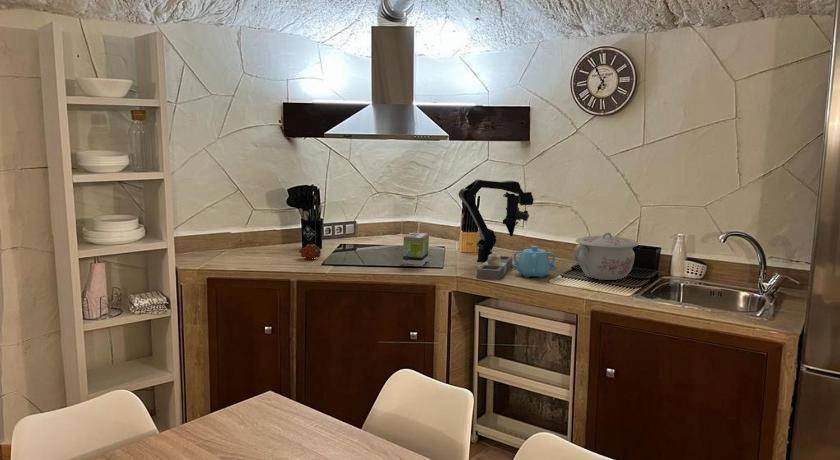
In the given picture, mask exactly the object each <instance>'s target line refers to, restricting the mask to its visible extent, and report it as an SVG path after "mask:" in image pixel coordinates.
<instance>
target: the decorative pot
mask: <svg viewBox="0 0 840 460" xmlns="http://www.w3.org/2000/svg"><path fill="white" fill-rule="evenodd" d="M517 254H520V256H519V257H518V260H517ZM548 255H551V256H552V260H551V261H550V258H549V256H548ZM513 260H514V262H515V263H512V266H511V267H512V269H514V270H518V272H519V274H520V275H522V276H523V277H524V278H529V277H537V278H539V279H542V278H543V279H544V277H546V276H548V275H549V273H550V271H551V272H553V271H555V270H556V266H555V264H554V262H555V260H556V255H555V254H554V253H553V252H552V251H546V250H545V249H543V248H539V246H537V245H531V246H530V248H525V249H523V250H517V251H515V252H514V253H513ZM552 267H553V268H552Z"/></svg>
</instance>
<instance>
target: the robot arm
mask: <svg viewBox="0 0 840 460" xmlns="http://www.w3.org/2000/svg"><path fill="white" fill-rule="evenodd" d="M481 189H491V190H492V189H494V190H503V191H506V192H505V193H504V194H503V195H502V197H504V198H506V208H505V211H506V216H505V218H504V219H503V220H502V225H505V226H506V229H507V231H508V234H509V236H510V237H513V236H514V234H515V228H516V226H517V225H518V224H519V222H520V221H523V222H527V221H528V220H529V217H530V214H529V211H528V210H526V209H525V210H524V211H522V210H520V207H519V205H520V206H522V207H523V206H533V204H534V201H535V200H534V196H533V194H532V192H531V191H527V192H526V191H525V192H524V191H523V189H522V187H521V184H520V183H519V181H515V180H504V181H496V180H485V179H484V180H483V179H478V178H477V179H475V180H474V181H472V183H469V184H468V185H467V186H465V187H463V188H461V189H459V192H458V198H459V199H460V200H461V202H462V203H463V204H464V205H465V206H466V207H467V209H468V211H469V214H470V215H471V217H472V219H473V221H474V222H475V226H476V227H477V229H478V231H479V237H480V238H479V239H480V240H478V242H476V247H477V248H478V249H477V260H476V262H483V263H485V262H486V261H487V260H488V256H489V255H490V254H493V251H492V250H493V248H494V246H495V245H496V243H497V236H496V235H495V232H494V230H493V229H491V228H488V226H487V224H486V222H485V220H484V218H483V216H482V214H481V212H480V210H479V208H478V206H477V204H476V202H477V201H476V197H475V196H476V195H477V194H478V192H479V191H480V190H481Z"/></svg>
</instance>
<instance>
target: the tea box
mask: <svg viewBox="0 0 840 460" xmlns="http://www.w3.org/2000/svg"><path fill="white" fill-rule="evenodd" d="M429 238H430V234H429V233H425V232H409V233H408V234H405V235H404V236H403V247H402V248H403V249H402V250H403V251H402V253H403V254H402V258H403V259H402V264H403V263H408V264H419V265H423V263H424V262H425V261H426V260H427V259H428V260H429V249H430V248H429V246H430V239H429Z"/></svg>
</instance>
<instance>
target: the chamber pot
mask: <svg viewBox="0 0 840 460" xmlns="http://www.w3.org/2000/svg"><path fill="white" fill-rule="evenodd" d="M575 243H577V244H578V245H577V246H575V248H574V251H573V258H574V260H575V262H576V263H577V265H579V266H580V268H581V270H582V272H583V273H584V275H585V276H586V277H588V278H590V277H591V279H592V278H595V279H602V280H616V279H621V280H623V279H625V278H627V276H629V273H630V272H631V271H632V269H633V266H634V262H635V252H634V250H633V248H635V247H637V246H639V242H638V241H636V240H633V239H630V238H627V237H623V236H622V237H621V236H614V235H612V234H611V233H610V232H605V233H604V234H603V235H589V236H588V235H587V236H582V237H579V238H577V239H576V240H575ZM624 277H625V278H624ZM622 278H623V279H622ZM595 279H594V280H595Z"/></svg>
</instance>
